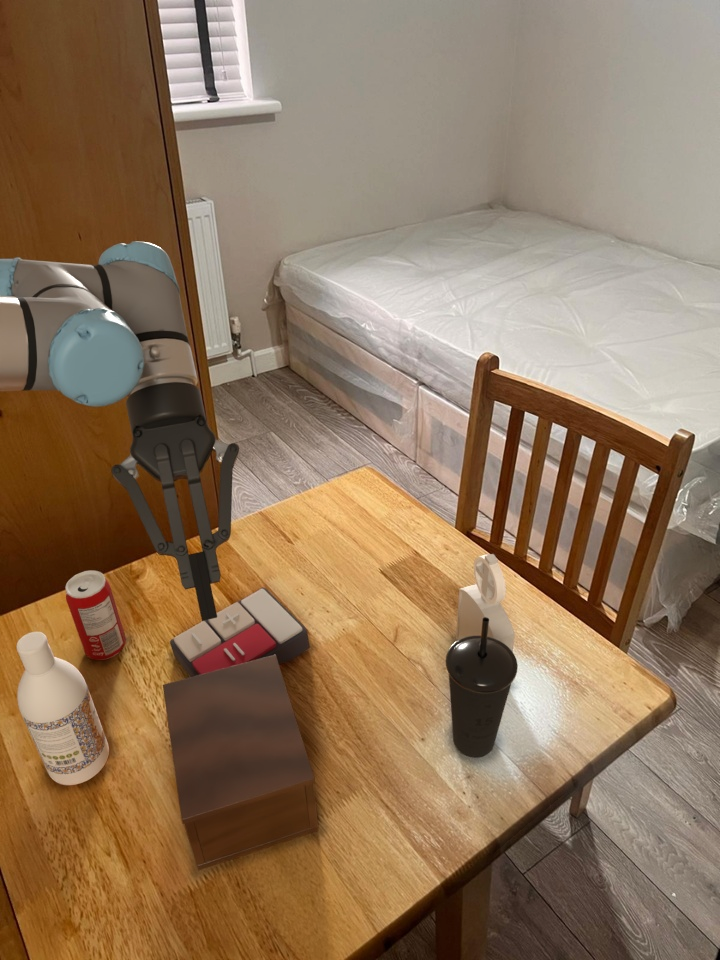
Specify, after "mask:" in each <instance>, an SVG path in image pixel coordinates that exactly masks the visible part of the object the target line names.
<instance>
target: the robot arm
mask: <svg viewBox="0 0 720 960" xmlns="http://www.w3.org/2000/svg"><path fill="white" fill-rule="evenodd" d="M180 289H181V288H180V285H179V284H178V281H177V277H176V273H175V271H174V267H173V265H172V262H171V258H170V256H169V255H168V254H167V252H166V250H164V249H163V248H161V247H160V246H158V245H156V244H154V243H151V242H147V241H146V242H145V241H135V240H133V241H131V242H130V243H122V242H121V243H117V244H114V245H112V246H110V247H108V248H106V249H105V250H104V251H103V252H102V253H101V255H100V256H99V259H98V264H84V263H83V264H81V263H70V262H59V261H58V262H57V261H44V260H33V259H32V260H31V259H22V258H21V257H14V258H0V392H23V391H27V392H28V391H57V392H60V393H61V394H62V395H63V396H65V397H66V398H69V399H70V400H72V401H73V402H75V403H77V404H80V405H84V406H88V407H93V408H94V407H95V408H99V407H100V408H101V407H106V406H110V405H113V404H115V403H117V402H120V401H121V400H123V399H125V398H126V397H127V399H126V401H125V406H126V410H127V411H126V412H127V416H128V421H129V427H130V431H131V436H132V442H131V444H130V448H129V453H130V455H128V456H127V457H126V458H125V459H124V460H123V461H122V462H120V464H119V463H117V464H114V465H112V467H111V469H110V472H111V475H112V476H113V478H114V480H115V481H117V483H119V484H120V485H121V486H122V487H123V489H125V490H126V491H127V493H128V496H129V497H130V500H131V502H132V504H133V506H134V509H135V511H136V512H137V514H138V516H139V518H140V521H141V523H142V525H143V527H144V529H145V531H146V533H147V535H148V538H149V540H150V541H151V544H152V546H153V548H154V550H155V552H156V553H157V554H158V555H159V556H166V557H172V558H174V559H175V560H176V562H177V568H178V572H179V576H180V582H181V586H182V587H183V589H184V590H185V591H186V590H190V589H194V590H195V594H196V599H197V603H198V604H197V605H198V609H199V613H200V619H201V622H203V621H205V620H209V619H213V618H217V613H218V612H217V608H216V603H215V598H214V593H213V590H212V584H217V583H220V582H221V577H222V576H221V570H220V565H219V560H218V556H217V551H216V550H217V549H218V547H219V546H221V545H222V544H224V543H226V542H228V541H229V540H230V538H231V535H232V508H233V507H232V506H233V505H232V504H233V503H232V502H233V473H234V472H233V471H234V467H235V465H236V462H237V459H238V457H239V452H240V446H239V445H238V444H237V443H234V442H233V443H226V442H223V441H222V440H219V439H217V438H216V435H215V432H213V430H212V429H211V428H210V427H209V424H208V422H207V417H206V413H205V412H206V411H205V407H204V403H203V398H202V393H201V389H200V388H198V387H197V384H198V382H199V380H198V375H197V371H196V367H195V362H194V361H195V360H194V357H193V352H192V348H191V344H190V340H189V336H188V331H187V327H186V321H185V316H184V311H183V307H182V302H181V301H182V300H181V296H180V295H181V292H180V291H181V290H180ZM212 452H214V453H215V461H216V463H217V464H218V465H220V469H219V470H220V471H219V490H218V491H219V496H218V519H217V520H218V521H217V522H218V525H217V531H215V532H214V533H213V531H212V526H211V522H210V518H209V513H208V507H207V504H206V503H207V502H206V499H205V494H204V489H203V484H202V480H201V474H202V473H203V471H204V470H205V467H206V466H207V463H208V461H209V459H210V457H211V454H212ZM137 466H140V467H141V468H142V469H143V470H144V471H146V473H147V474H149V475H150V476H151V477H152V478H153V479H155V481H158V482H159V483H160V484H161V489H162V493H163V498H164V502H165V508H166V513H167V518H168V519H167V520H168V522H169V527H170V533H171V538H172V542H171V541H166V538H165V537H164V535H163V533H162V530H161V528H160V526H159V524H158V521H157V520H156V518H155V516H154V513H153V512H152V510H151V508H150V505H149V504H148V501H147V500H146V497H145V495H144V492H143V491H142V489H141V487H140V485H139V483H138V481H137V480H138V479H139V477H140V474H139V471H138V469H137ZM179 480H187V485H188V489H189V494H190V498H191V499H190V500H191V505H192V508H193V513H194V518H195V522H196V527H197V533H198V536H199V542H200V546H201V550H202V551H198V552H193V553H189V550H188V544H187V540H186V534H185V529H184V525H183V519H182V515H181V510H180V505H179V499H178V496H177V490H176V489H177V488H176V485H175V484H176V483H175V482H177V481H179Z"/></svg>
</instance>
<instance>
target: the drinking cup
mask: <svg viewBox="0 0 720 960" xmlns="http://www.w3.org/2000/svg"><path fill="white" fill-rule="evenodd" d="M488 627H489V618H487V617H484V618H483V620H482V630H481V636H468V637H465V638H462V639H460V640H458V641H456V640H455V642H454V643H452V645H451V646H450V647H449V648H448V650H447V652H446V655H445V669H446V672H447V673H448V684H449V698H450V714H451V715H450V716H451V725H452V727H451V729H452V741H453V744H454V747H455V748H456V749H457V751H459V752H460V754H462V755H464V756H466V757H469V758H475V759H476V758H477V759H478V758H483V757H486V756H487V755H489V754H490V753H491V752H492V751H493V749H494V747H495V743H496V740H497V736H498V732H499V729H500V726H501V722H502V719H503V715H504V710H505V707H506V704H507V701H508V696H509V693H510V690H511V686H512V683H513V682H514V681H515V679H516V676H517V673H518V660H517V658H516V654H514V651H513V652H512V651H511V649H510V648H509V647H508V646H506V645H505V644H504V643H502V642H501V641H499V640H497V639H494V638H491V637H487V636H488Z"/></svg>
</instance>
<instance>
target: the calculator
mask: <svg viewBox="0 0 720 960" xmlns="http://www.w3.org/2000/svg"><path fill="white" fill-rule="evenodd" d="M216 613H217V618H213V619H209V620H205V621H201V622H199V623H197V624H195V625H193V626H192V627H190V628H188V629H186V630H185V631H183V632H181V633H180V634H178V635H176V636H174V637H173V638H172V639H170V640H169V644H170V647H171V650H172V654H173V656H174V658H175V659H176V661H177V662H178V663H179V665H180V666H181V667H182V669H183V670H184V671H185V673H187V676H189V678H190V677H194V676H197V675H201V674H205V673H209V672H212V671H216V670H220V669H224V668H227V667H231V666H235V665H239V664H242V663H246V662H250V661H254V660H257V659H261V658H265V657H269V656H272V655H276V657H277V660H278V664H279V665H281V664H285V663H289V662H292V661H293V660H294V659H295V658H298V657H299V656H300V655H302V654H303V653H305V652H307V651H308V650H309V649H310V648H311V647H310V646H311V645H310V640H309V634H308V633H309V632H308V629H307V628H306V627H305V626H304V625H303V624H302V623H301V622H300V621H299V620H298V619H297V618H296V617H295V616H294V615H293V613H291V612H290V611H289V610H288V609H287V608H286V607H285V606H284V605H283V604H282V603H281V602H280V601H279V600H278V599H277V598H276V597H275V596H274V595H273V594H272V593H271V592H270V591H269V590H268V589H267V588H266V587H261V588H259V589H257V590H256V591H254V592H252V593H250V594H249V595H247V596H245V597H243V598H242V599H240V600H238V601H236V602H234V603H233V604H230V605H229V606H227V607H225V608H223V609H222V610H220V611H218V612H216Z"/></svg>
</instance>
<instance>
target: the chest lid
mask: <svg viewBox="0 0 720 960" xmlns="http://www.w3.org/2000/svg"><path fill="white" fill-rule="evenodd" d="M283 676H284V675H283V674H282V670H281V667H280V664H278V660H277V657H276V655H272V656H269V657H265V658H261V659H257V660H254V661H250V662H246V663H242V664H239V665H235V666H231V667H227V668H224V669H220V670H216V671H212V672H209V673H205V674H201V675H197V676H194V677H190V676H189V677H186V678H183V679H178V680H175V681H172V682H167V683H164V684H162V690H163V697H164V704H165V711H166V717H167V718H166V719H167V726H168V732H169V739H170V746H171V754H172V761H173V769H174V775H175V783H176V790H177V797H178V804H179V810H180V811H179V812H180V819H181V822H182V824H183V825H184V824H186V823H189V822H192V821H195V820H198V819H202V818H205V817H208V816H211V815H214V814H217V813H221V812H224V811H227V810H230V809H233V808H236V807H240V806H243V805H246V804H249V803H252V802H255V801H259V800H262V799H265V798H268V797H271V796H274V795H278V794H281V793H284V792H287V791H290V790H293V789H297V788H300V787H303V786H306V785H309V784H312V783H314V784H315V783H316V779H315V775H314V772H313V769H312V766H311V762H310V759H309V756H308V753H307V750H306V746H305V743H304V741H303V740H304V739H303V736H302V734H301V730H300V728H299V724H298V721H297V718H296V715H295V712H294V708H293V706H292V701H291V699H290V695H289V693H288V690H287V686H286V682H285V680H284V677H283Z"/></svg>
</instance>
